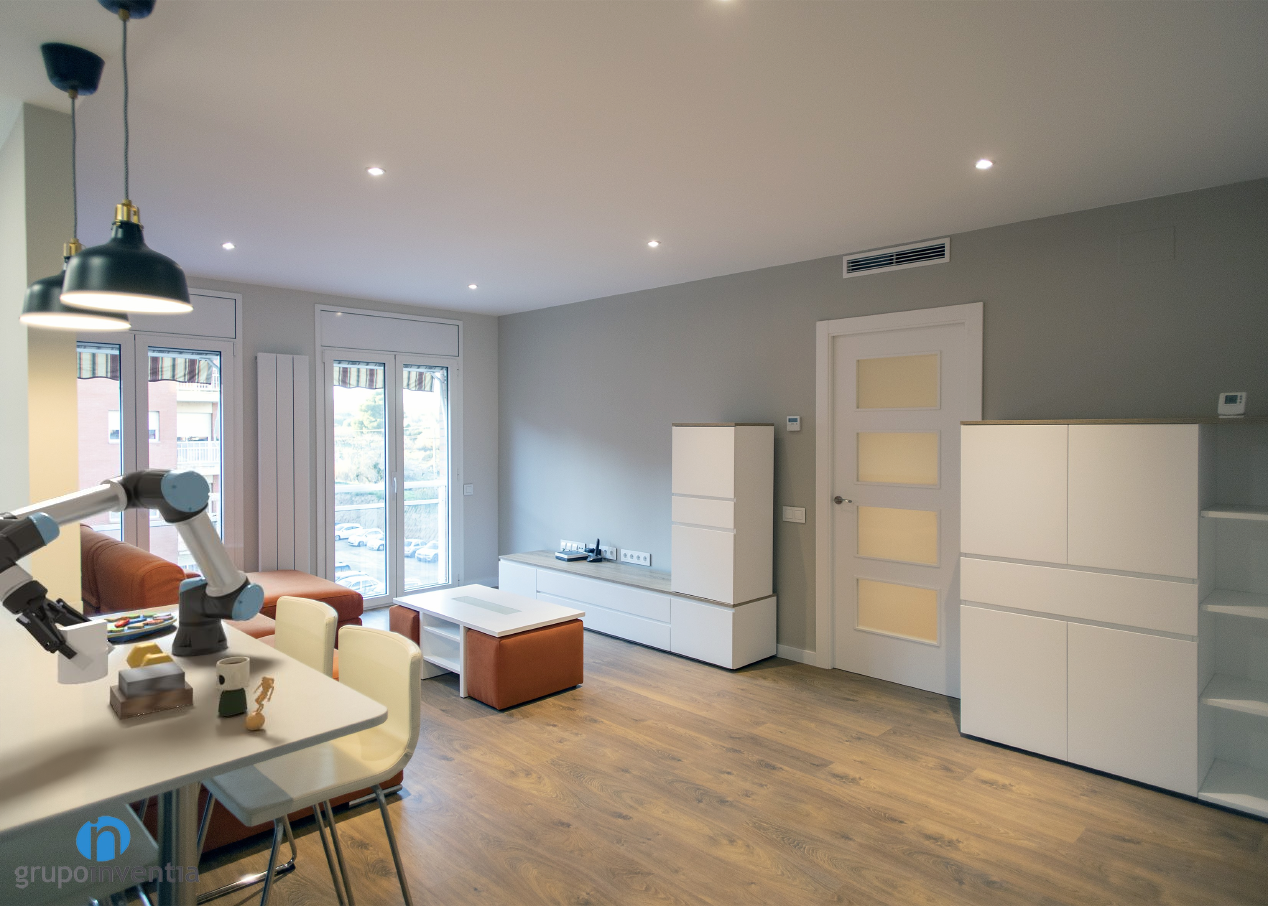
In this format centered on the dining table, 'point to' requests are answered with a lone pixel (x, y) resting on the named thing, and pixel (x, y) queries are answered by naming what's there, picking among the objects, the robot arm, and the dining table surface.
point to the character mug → (232, 684)
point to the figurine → (260, 704)
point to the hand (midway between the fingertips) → (99, 659)
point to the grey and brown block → (150, 689)
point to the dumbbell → (147, 655)
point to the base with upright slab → (92, 644)
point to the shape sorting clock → (137, 625)
